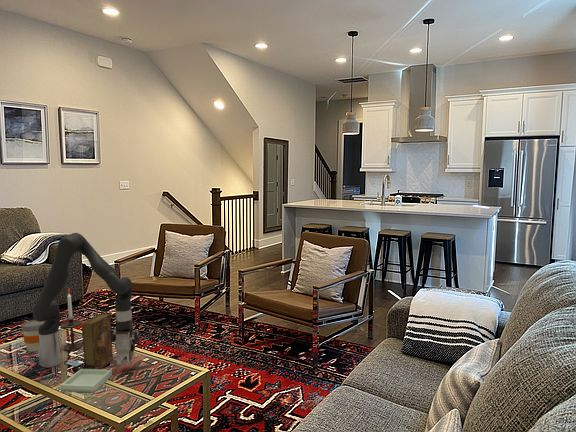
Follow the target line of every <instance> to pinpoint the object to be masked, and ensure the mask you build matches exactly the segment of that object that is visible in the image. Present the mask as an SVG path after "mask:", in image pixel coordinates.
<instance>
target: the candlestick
mask: <svg viewBox="0 0 576 432" xmlns="http://www.w3.org/2000/svg"><path fill="white" fill-rule="evenodd" d="M70 292H71V290H70V287H68V291H67V293H68V294H67V296H66V297H67V311H68V318H67V319H66V320H67V321H64V322H62V323H60V325H59V328H60V329H63V330H66V329H69V330H70V331H69V332H70V334H69V338H70V339H69V340H70V342H71V343H70V344H68V345H65V346H64V347H63V351H65V352H74V351H78V350H80V349H81V348H83V343H81V342H80V343H79V342H77V343H76V342H75V338H74V337H75V336H76V335H75V333H74V328H78V327H80V326H82V324H83V321H82V320H80V319H76V318H75V317H73V305H72V295H71V294H70Z"/></svg>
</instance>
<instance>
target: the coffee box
mask: <svg viewBox="0 0 576 432" xmlns="http://www.w3.org/2000/svg"><path fill="white" fill-rule="evenodd" d="M132 329H133V330H134V326H133V325H132ZM132 335H133V333H132V334H131V335H130V331H126V330H117V332H116V333H115V338H116V349H115V353H116V355H115V357H116V365H131V362H132V361H133V359H134V357H135V350H134V351H133V352H131V343H130V338H131V337H132ZM133 336H134V335H133Z"/></svg>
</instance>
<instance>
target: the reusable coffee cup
mask: <svg viewBox="0 0 576 432" xmlns="http://www.w3.org/2000/svg"><path fill="white" fill-rule="evenodd" d="M44 322H45V321H42V322H38V321H36V320H35V319H32V320H27V321H24V322H23V323H22V324H21V331H22V338H23V342H24V344H25V347H26V350H27V352H29V353H31V352H32V353H33V352H38V348H39V347H40V344H39V333H38V329H39V327H40V326H41V325H43V324H44Z"/></svg>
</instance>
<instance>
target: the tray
mask: <svg viewBox="0 0 576 432" xmlns="http://www.w3.org/2000/svg"><path fill="white" fill-rule="evenodd" d="M112 377H113V370H112V369H85V368H80V369H78V370H77V371H76V372H75V373H74V374H72V375H71V376H69V378H67V379H66V380H65V381H63V382H62V383H61V384H60V386H59V387H60V388H59V389H60V392H67V393H68V392H71V393H72V392H74V393H90V394H91V393H92V394H94V393H95V392H97V390H98V389H100V388H101V387H102V386H103V385H104V384H106V382H107V381H108V380H109V379H110V378H112Z"/></svg>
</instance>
